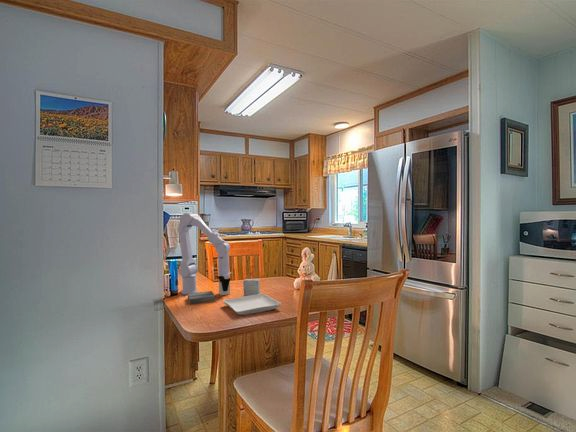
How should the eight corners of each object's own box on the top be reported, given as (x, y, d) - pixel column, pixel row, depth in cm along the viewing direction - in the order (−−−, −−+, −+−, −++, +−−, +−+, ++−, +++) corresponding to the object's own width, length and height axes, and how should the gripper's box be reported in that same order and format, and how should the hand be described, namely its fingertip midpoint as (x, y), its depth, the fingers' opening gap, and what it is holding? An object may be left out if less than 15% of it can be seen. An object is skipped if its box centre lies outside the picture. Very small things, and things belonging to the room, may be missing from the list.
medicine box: (260, 295, 169) (259, 278, 169) (258, 297, 165) (258, 280, 165) (245, 295, 170) (245, 278, 170) (243, 297, 166) (243, 280, 165)
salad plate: (236, 319, 132) (236, 311, 132) (222, 306, 151) (222, 299, 151) (282, 311, 142) (282, 303, 142) (263, 299, 161) (263, 293, 161)
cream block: (218, 293, 175) (218, 282, 175) (227, 292, 177) (227, 281, 177) (220, 295, 171) (220, 283, 171) (229, 294, 173) (229, 282, 172)
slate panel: (188, 299, 166) (187, 293, 166) (211, 296, 170) (211, 291, 170) (190, 305, 155) (190, 299, 155) (215, 302, 159) (215, 296, 159)
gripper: (234, 266, 169) (234, 292, 169) (228, 262, 182) (228, 286, 182) (220, 267, 166) (221, 293, 166) (215, 263, 179) (216, 287, 179)
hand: (224, 290), depth 174 cm, fingers closed on cream block, 5 cm apart
